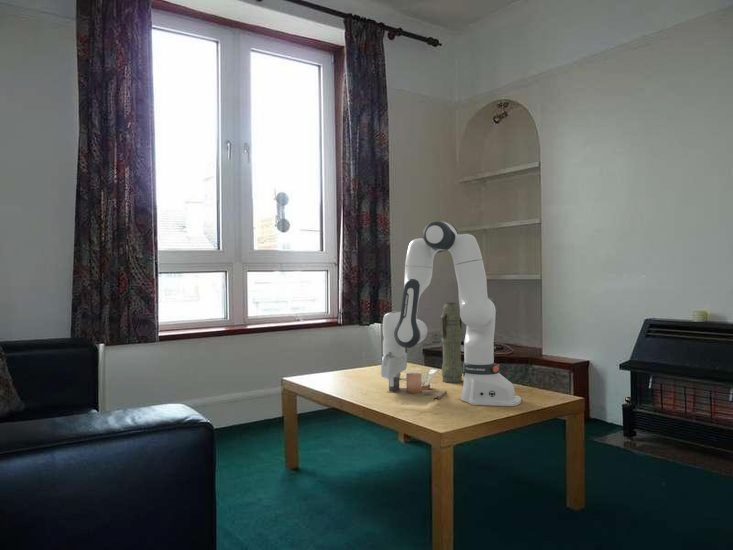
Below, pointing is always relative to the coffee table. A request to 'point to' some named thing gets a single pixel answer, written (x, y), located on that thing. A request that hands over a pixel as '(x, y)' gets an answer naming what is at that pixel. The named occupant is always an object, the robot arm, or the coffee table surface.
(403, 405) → the coffee table surface
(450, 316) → the thermos
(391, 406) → the coffee table surface
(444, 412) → the coffee table surface
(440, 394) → the walnut strip
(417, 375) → the terracotta upright block
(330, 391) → the coffee table surface
